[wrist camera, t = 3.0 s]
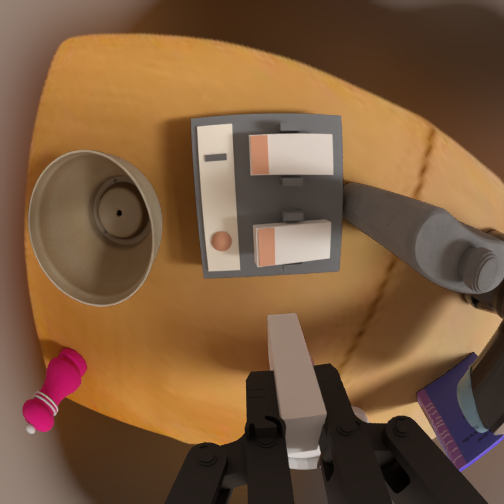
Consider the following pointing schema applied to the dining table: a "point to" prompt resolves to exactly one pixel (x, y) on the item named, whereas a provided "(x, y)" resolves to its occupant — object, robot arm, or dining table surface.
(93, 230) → the planter bowl
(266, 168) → the rocker
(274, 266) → the switch unit
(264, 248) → the block
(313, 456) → the dish
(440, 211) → the flask
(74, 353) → the pepper mill
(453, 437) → the cereal box
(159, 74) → the dining table surface
